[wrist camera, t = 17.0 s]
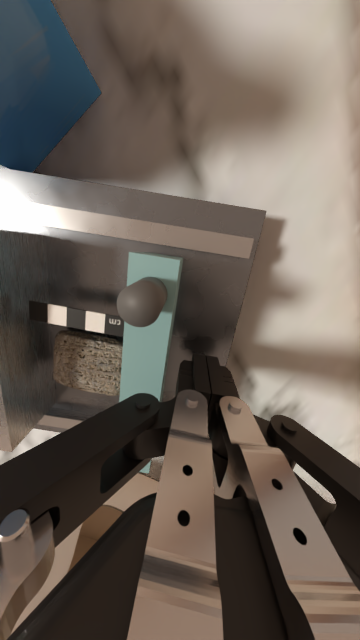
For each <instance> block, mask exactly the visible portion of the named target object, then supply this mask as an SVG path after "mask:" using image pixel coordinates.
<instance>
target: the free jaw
mask: <svg viewBox="0 0 360 640" xmlns="http://www.w3.org/2000/svg"><path fill="white" fill-rule="evenodd" d="M182 264H183V258H182V257H175V256H169V255H163V254H157V253H151V252H129V259H128V274H127V287H126V288H124V289H123V290H122V291H121V292H120V294H119V296H118V298H117V310H118V313H119V315H120V316H121V318H122V319H123V320H124V336H123V351H122V366H121V382H120V397H119V402H121V401H123V400H125V399H127V398H128V397H130V396H132V395H134V394H137V393H148V394H151V395H153V396H155V397H156V398H157V399H158V400H159V402H162V396H163V390H164V383H165V376H166V370H167V363H168V357H169V350H170V343H171V337H172V330H173V323H174V317H175V310H176V304H177V297H178V290H179V284H180V277H181V271H182ZM151 460H152V458H151ZM151 460H150V462H149V463H148V464H147V465H146V466H145V467H144V468H143V469H142V470H140V471H139V472H143V473H149V470H150V465H151Z"/></svg>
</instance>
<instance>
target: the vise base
mask: <svg viewBox="0 0 360 640" xmlns="http://www.w3.org/2000/svg"><path fill="white" fill-rule="evenodd" d="M265 215H266V211H264V210H257V209H251V208H245V207H239V206H233V205H227V204H221V203H214V202H208V201H202V200H196V199H190V198H184V197H177V196H171V195H165V194H159V193H153V192H147V191H141V190H134V189H128V188H122V187H116V186H110V185H104V184H98V183H91V182H85V181H79V180H73V179H67V178H61V177H55V176H48V175H42V174H36V173H30V172H24V171H18V170H11V169H5V168H0V450H2V451H9V452H12V451H13V450H14V449H15V448H16V447H17V446H18V444H19V443H20V442H21V441H22V440H23V439H24V438H25V437H26V436H27V434H28V433H29V432H30V431H31V430H32V429H33V428H35V429H41V430H48V431H54V432H60V433H62V432H64V431H66V430H68V429H70V428H72V427H74V426H75V425H77V424H79V423H81V422H83V421H85V420H87V419H89V418H91V417H92V416H94V415H96V414H98V413H100V412H102V411H104V410H106V409H108V408H109V407H111V406H113V405H115V404H117V403H119V397H120V395H117V396H108V395H105V394H98V393H92V392H87V391H81V390H79V389H74V388H70V387H68V386H64V385H62V384H60V383H58V382H56V381H55V380H54V378H53V367H54V364H53V358H54V354H53V352H54V344H55V337H56V334H57V333H58V332H59V331H61V330H68V331H76V332H81V333H87V334H92V335H98V336H103V337H108V338H113V339H116V340H118V341H120V342H123V337H120V336H115V335H109V334H104V333H99V332H93V331H88V330H83V329H77V328H72V327H67V326H61V325H56V324H51V323H45V322H40V321H35V320H29V300H32V301H37V302H43V303H48V304H54V305H59V306H65V307H70V308H76V309H81V310H87V311H92V312H98V313H103V314H109V315H114V316H120V315H119V313H118V310H117V298H118V296H119V294H120V292H121V291H122V290H123V289H124V288H126V287H127V274H128V259H129V252H151V253H157V254H163V255H169V256H175V257H182V258H183V264H182V271H181V277H180V284H179V290H178V297H177V304H176V310H175V317H174V323H173V330H172V337H171V343H170V350H169V357H168V363H167V370H166V376H165V383H164V390H163V396H162V402H166V401H170V400H172V399H173V398H175V393H176V384H177V378H178V372H179V367H180V363H181V362H182V361H183V360H188V361H191V360H192V355H193V353H195V354H201V355H208V356H214V357H218V360H219V363H220V366H225V367H226V364H227V360H228V356H229V352H230V348H231V344H232V341H233V337H234V333H235V329H236V325H237V322H238V318H239V314H240V310H241V306H242V302H243V299H244V295H245V291H246V287H247V283H248V280H249V276H250V272H251V268H252V264H253V260H254V257H255V253H256V249H257V245H258V241H259V238H260V234H261V230H262V226H263V222H264V218H265ZM120 317H121V316H120Z"/></svg>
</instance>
